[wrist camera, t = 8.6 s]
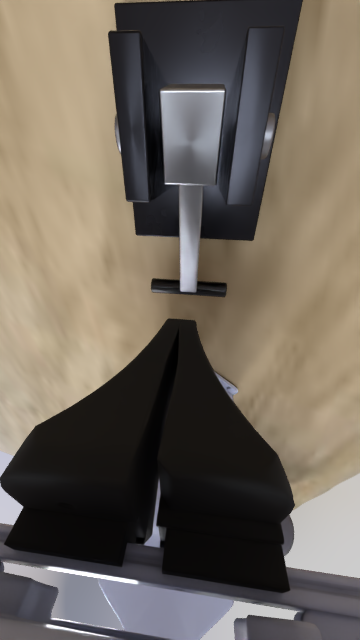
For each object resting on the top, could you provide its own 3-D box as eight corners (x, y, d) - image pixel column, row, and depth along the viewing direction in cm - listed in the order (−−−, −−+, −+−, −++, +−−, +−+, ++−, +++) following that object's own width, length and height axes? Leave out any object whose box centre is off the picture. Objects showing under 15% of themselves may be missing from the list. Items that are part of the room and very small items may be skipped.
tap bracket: (251, 236, 17) (281, 286, 10) (139, 231, 18) (94, 275, 11) (295, 10, 11) (456, -274, 4) (121, 15, 12) (-15, -221, 5)
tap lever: (224, 283, 16) (225, 307, 14) (156, 279, 16) (149, 302, 15) (262, 83, 8) (272, 88, 7) (133, 84, 9) (116, 88, 7)
